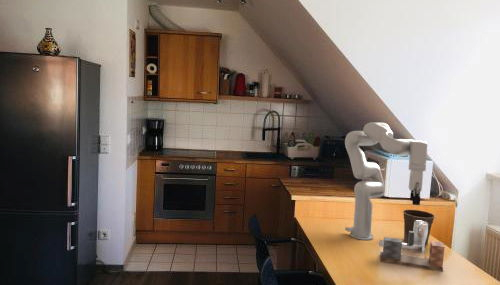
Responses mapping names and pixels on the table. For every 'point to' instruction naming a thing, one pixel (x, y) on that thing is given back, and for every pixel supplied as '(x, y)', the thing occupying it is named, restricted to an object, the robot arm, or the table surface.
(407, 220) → the plant pot
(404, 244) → the tube
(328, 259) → the table surface
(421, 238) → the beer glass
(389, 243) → the tube rig
